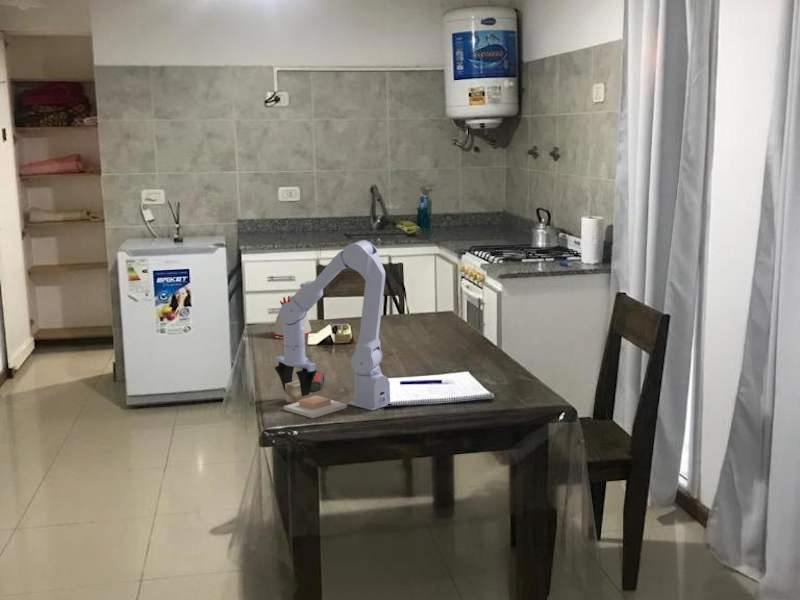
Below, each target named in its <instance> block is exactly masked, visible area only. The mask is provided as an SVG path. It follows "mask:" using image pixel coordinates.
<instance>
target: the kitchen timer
mask: <svg viewBox="0 0 800 600" xmlns="http://www.w3.org/2000/svg"><path fill="white" fill-rule="evenodd" d="M290 297H291V295H288V296H287V300H286V297H285V296H283V298H282V300H283V301H281V300H279V303H280V305H281V306H282V305H283V304H285V303H288V302H290V299H289V298H290ZM311 326H312V325H311V324H310V320H309V317H308V315H306V316H305V318H304V335H308V334H309V333H312V327H311ZM274 335H275V336H279V337H284V335H283V321H282V320H281V318H280V316H279V313H278V314H277V316H276V319H275V323H274V327H273V336H274Z"/></svg>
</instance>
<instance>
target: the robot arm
mask: <svg viewBox="0 0 800 600" xmlns="http://www.w3.org/2000/svg"><path fill="white" fill-rule="evenodd" d="M349 268H350V269H352V270H354V271H356V272H358V273H359V275H360V276H361V277H362V278H363V279H364V280H365V281H364V282H365V283H364V291H363V300H362V302H363V303H362V309H361V310H362V311H361V317H360V318H361V320H360V328H359V337H358V341H357V343H356V346H355V350H354V353H353V355H352V356H351V357H350V366H351V368H352V370H353V381H354V382H353V383H354V384H353V385H354V400H351V401H349V402H348V403H347V405H350V406H354V407H357V408H361V409H365V410H368V411H375V410H377V409H381V408H384V407H388V406H389V405H388V404H389V403H390V402H391V387H390V385H391V384H390V383H391V382H390V380H389V377H388V376H386V375H384V374H383V373H382V371H381V367H380V364H381V362H382V361H383V352H382V350H381V345H382V344H381V340H380V338H379V336H380V329H381V328H380V327H381V319H382V318H381V317H382V311H383V310H382V309H383V301H384V291H385V284H386V283H385V282H386V271H385V268H384V266H383V263H382V261H381V258H380V256H379V249H377V247H376V246H375V245H374V244H373V243H371V241H369V240H366V239H361V240H358V241H357V242H354V243H350V244H348V245H346V246H345V247H344V248H343V250H340V252H338V253H337V254H336V255H335V256H334V257H333V258H332V259H331V261H329V263H328V264H327V265H326V266H325V267H324V269H323V270H322V271H321V272H320V273H319V274H318V275H317V276H316V278H315V279H314V280H307V281H306V282H302V283H301V284H300V285H299V287H300V288H299V289H298V291H297V292H296V293H295V294H294V295H290V298H289V299H290V302H288V303H285V304H283V305H281V307H280V309H279V311H278V314H279V316H280V318H281V320H282V321H283V335H284V339H283V352H284V353H283V354H284V355H279V356H276V357H275V364H276V365H277V366H274V370H275V371H276V373H277V375H278V376H279V379H280V382H281V385H282V388H283V391H284V392H285V384H286V383H290V382H293V374H294V369H295V368H297V369H301V370H298V371H296V372H295V373H296V376H297V378H298V379H299V381H300V388H301V394H302V396H306V395H308V396H309V395H310V392H311V391H310V387H311V383H312V380H313V378H314V376H315V374H316V372H317V369H316V363H314V362H311V361H310V360H309V358H308V357H306V341H305V340H306V338H305V335H304V318H305V316H307V314H308V312H309V311H311V309H312V308H313V307H314V306H315V305H316V303H317V302H318V301H320V299H321V298H322V297H323V296H324V288H325V287H326V286H328V284H329V283H330V282H331V281H332V280H333V279H335V277H336V276H337V275H338V274H340V272H341V271H342V270H346V269H349Z"/></svg>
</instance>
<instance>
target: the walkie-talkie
mask: <svg viewBox="0 0 800 600" xmlns="http://www.w3.org/2000/svg"><path fill="white" fill-rule="evenodd" d="M294 381H299V378H298V379H295V380H294ZM324 383H325V373H324V372H322V371H316V374H315V376H314V378H313V380H312V383H311V387H310V392H314V391H315V392H316V391H317V392H320V391H322V390H323V388H324Z"/></svg>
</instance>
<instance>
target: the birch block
mask: <svg viewBox="0 0 800 600" xmlns="http://www.w3.org/2000/svg"><path fill="white" fill-rule="evenodd" d="M284 393H285V402H288V403H290V404H293V403H296V402H299V400H302V399H305V398H309V395H306V396H302V394H301V388H300V381H295V380H293V381H292V382H290V383H286V384H285V391H284Z"/></svg>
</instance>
